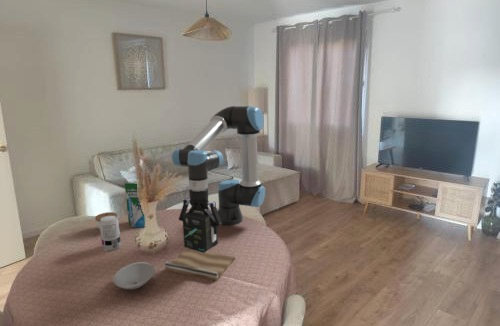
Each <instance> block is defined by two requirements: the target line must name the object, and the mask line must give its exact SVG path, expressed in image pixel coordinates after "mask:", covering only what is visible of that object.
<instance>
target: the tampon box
mask: <svg viewBox="0 0 500 326" xmlns="http://www.w3.org/2000/svg"><path fill="white" fill-rule="evenodd" d="M188 212H189V211H188ZM188 212H187V211H186V213H185V214H183V221H182V228H183V229H182V230H183V247H184V248H186V249H188V248H189V249H193V250H196V251H199V252H203V253H204V252H206V251H207V252H209V250H210V249H212V248H214V247H215V246H217V245H218V244H219V242H218V241H219V239H218V233H217V234H216V240H215V241H214V242H212V235H211V227H212V224H211V223H210V217H212V216H213V214H210V216H208V215H205V214H204V213H203V212H200V211H195V210H194V211H193V212H192V213H188ZM210 212H211V210H210ZM211 213H212V212H211Z"/></svg>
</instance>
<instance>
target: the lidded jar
mask: <svg viewBox="0 0 500 326" xmlns="http://www.w3.org/2000/svg"><path fill="white" fill-rule="evenodd" d="M111 215H112V216H116V217H117V218H118V215H117V213H116V212H112V211H111V212H102V213H99V214H97V215H96V216H95V217H94V219H95V224H96V226H97V228H98V229H99V230H100V220H101V218H103V217H105V216H111Z"/></svg>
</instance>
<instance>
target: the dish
mask: <svg viewBox="0 0 500 326" xmlns="http://www.w3.org/2000/svg"><path fill="white" fill-rule="evenodd" d="M154 272H155V268H154V266H153V264H151V263H149V262H145V261H139V262H133V263H130V264H129V263H128V264H127V265H125V266H123V267H121V268H120V269H119V270H118V271H117V272H116V273H115V275H114V276H113V283H114V286H117V287H119V288H120V289H121V288H122V289H124V290H136V289H138V288H141V287H142V286H144V285H145V284H147V282H148V281H149V280H150V279H151V278H152V277H153V275H154Z"/></svg>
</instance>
